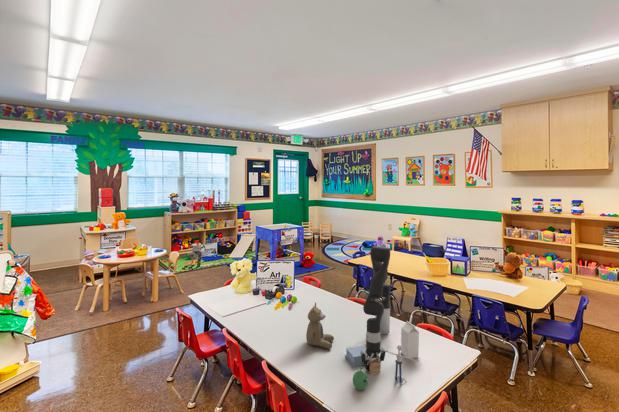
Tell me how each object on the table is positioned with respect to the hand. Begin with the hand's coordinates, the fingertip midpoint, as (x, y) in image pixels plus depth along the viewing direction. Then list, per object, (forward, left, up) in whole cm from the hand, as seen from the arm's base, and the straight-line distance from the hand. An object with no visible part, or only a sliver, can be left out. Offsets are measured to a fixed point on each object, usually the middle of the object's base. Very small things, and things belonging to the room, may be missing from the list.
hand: (372, 369), depth 168 cm
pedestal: (-12, -3, -1) cm, 12 cm away
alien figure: (+12, +8, -1) cm, 15 cm away
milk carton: (-8, +28, -1) cm, 29 cm away
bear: (-35, -18, -1) cm, 39 cm away
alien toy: (+12, -13, -1) cm, 18 cm away
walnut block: (0, 0, -1) cm, 1 cm away
